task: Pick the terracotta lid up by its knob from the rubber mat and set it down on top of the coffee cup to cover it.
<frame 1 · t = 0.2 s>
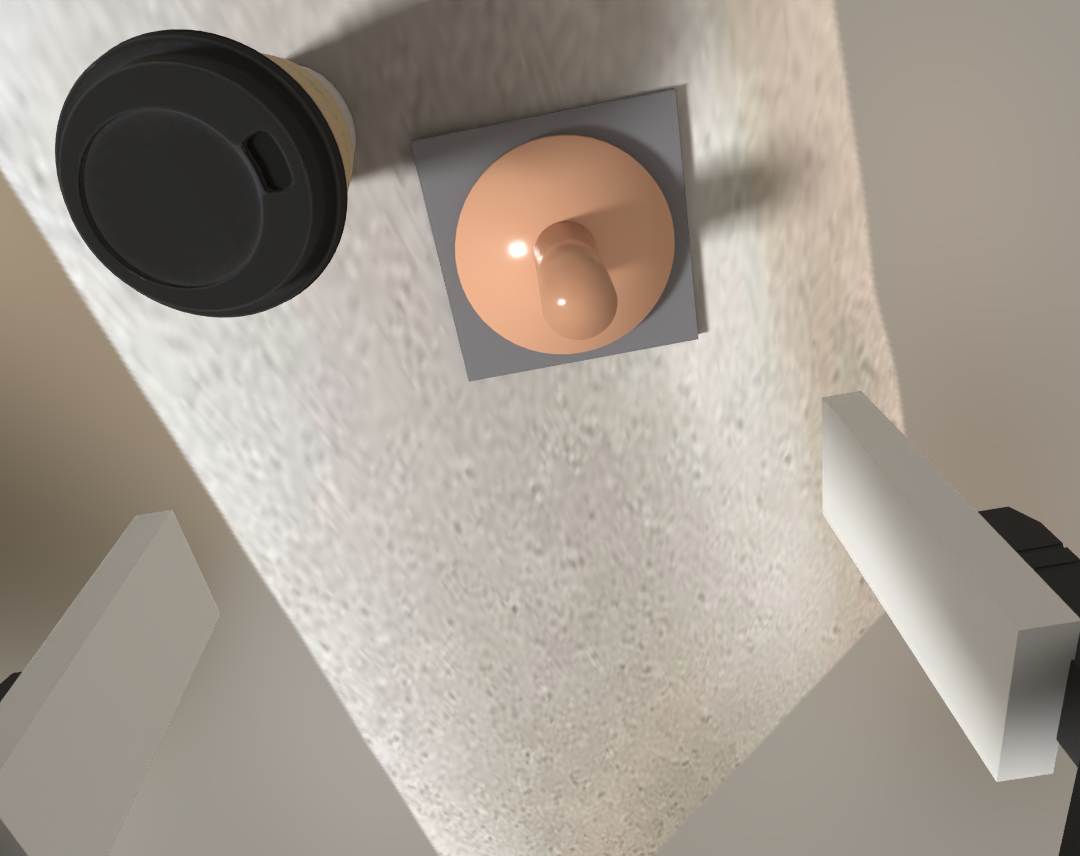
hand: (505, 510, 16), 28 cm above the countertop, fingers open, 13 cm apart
mat: (563, 244, 42), on the countertop
lid: (563, 247, 41), point 1 cm above the countertop, touching mat
coffee cup: (294, 130, 39), on the countertop
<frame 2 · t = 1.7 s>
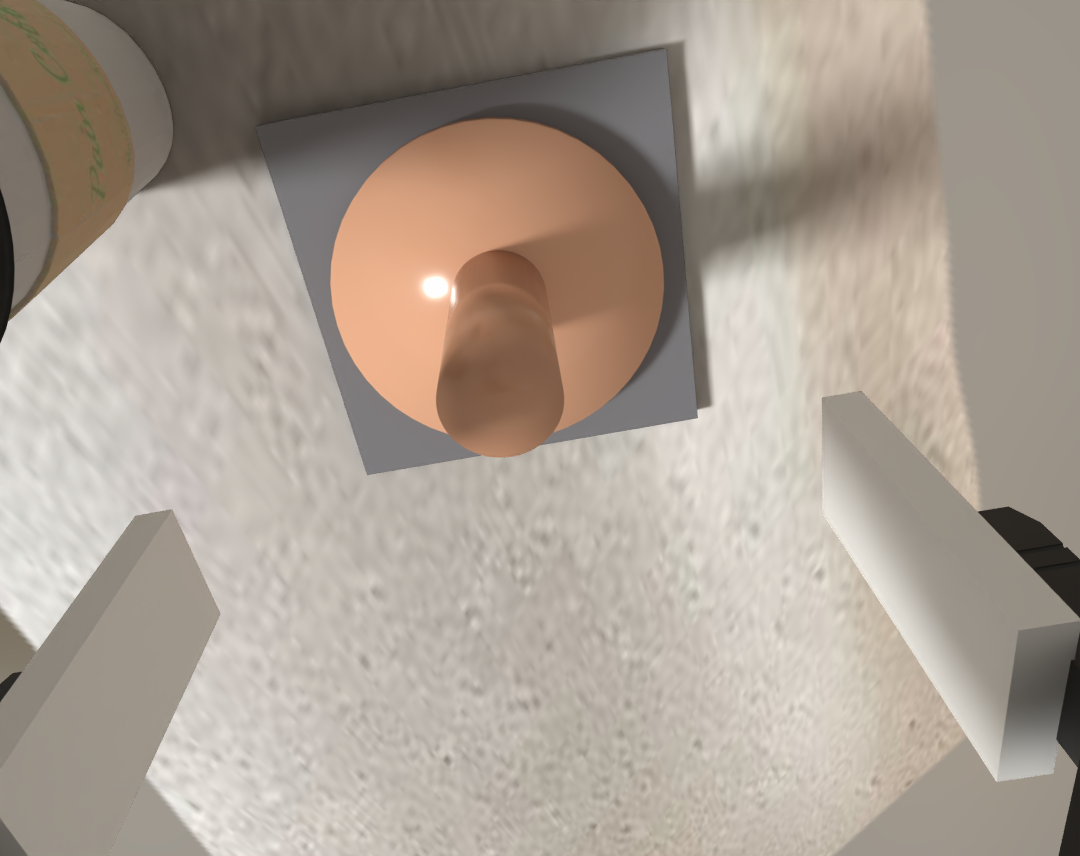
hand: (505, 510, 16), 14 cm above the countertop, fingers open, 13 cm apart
mat: (498, 282, 28), on the countertop
lid: (498, 287, 28), point 1 cm above the countertop, touching mat
coffee cup: (76, 106, 25), on the countertop
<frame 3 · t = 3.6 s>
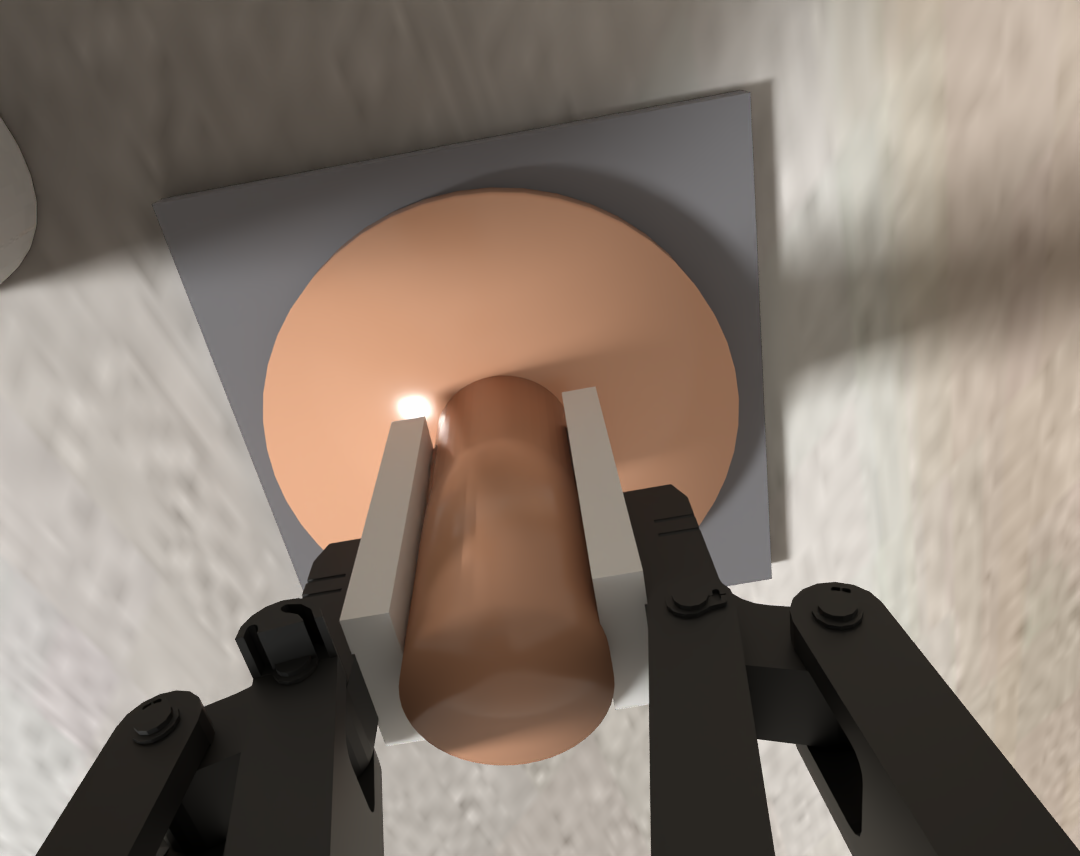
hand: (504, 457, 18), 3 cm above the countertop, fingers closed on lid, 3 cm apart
mat: (504, 406, 20), on the countertop
lid: (504, 418, 20), point 1 cm above the countertop, touching gripper
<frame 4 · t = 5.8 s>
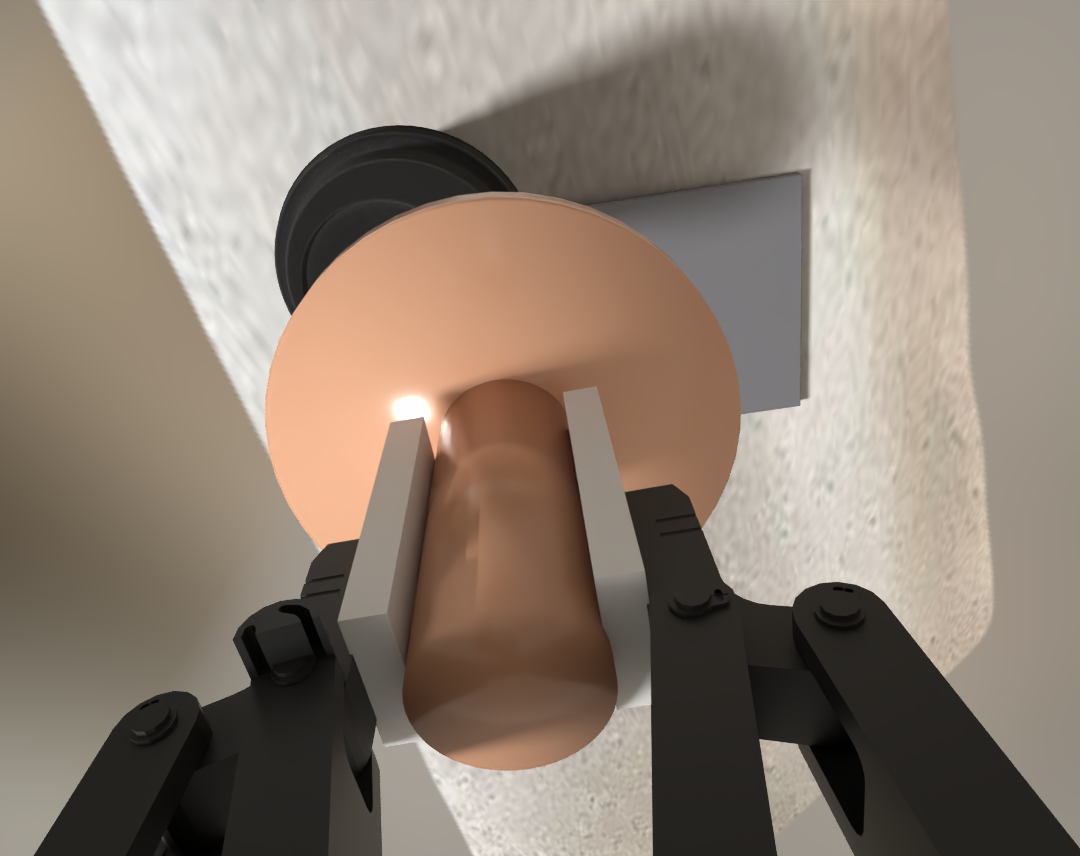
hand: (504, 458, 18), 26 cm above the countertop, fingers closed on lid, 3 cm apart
mat: (679, 312, 44), on the countertop
lid: (506, 421, 20), point 24 cm above the countertop, touching gripper
coffee cup: (435, 196, 41), on the countertop
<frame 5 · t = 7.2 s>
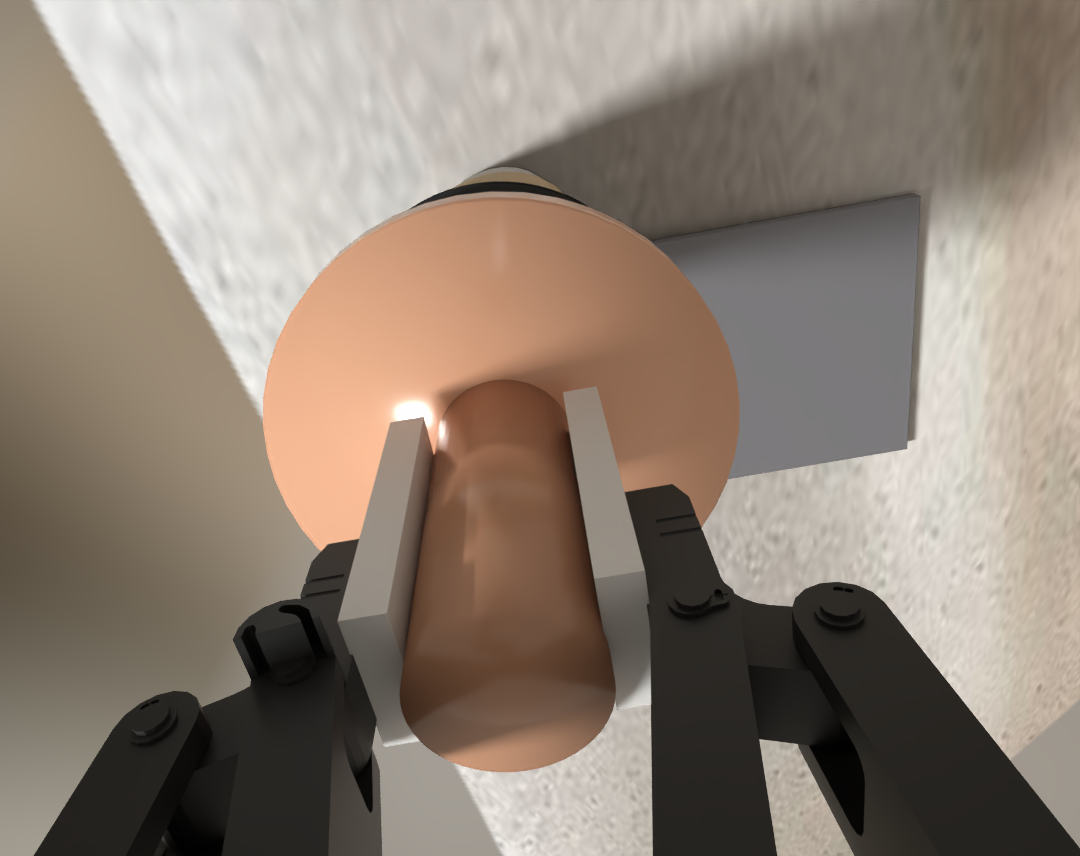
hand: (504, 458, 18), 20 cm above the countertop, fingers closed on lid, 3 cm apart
mat: (774, 351, 39), on the countertop
lid: (504, 422, 20), point 18 cm above the countertop, touching gripper
coffee cup: (501, 233, 36), on the countertop
when the fingers open (19 cm above the countertop, at t = 8.1 s): lid drops 2 cm, resting on coffee cup.
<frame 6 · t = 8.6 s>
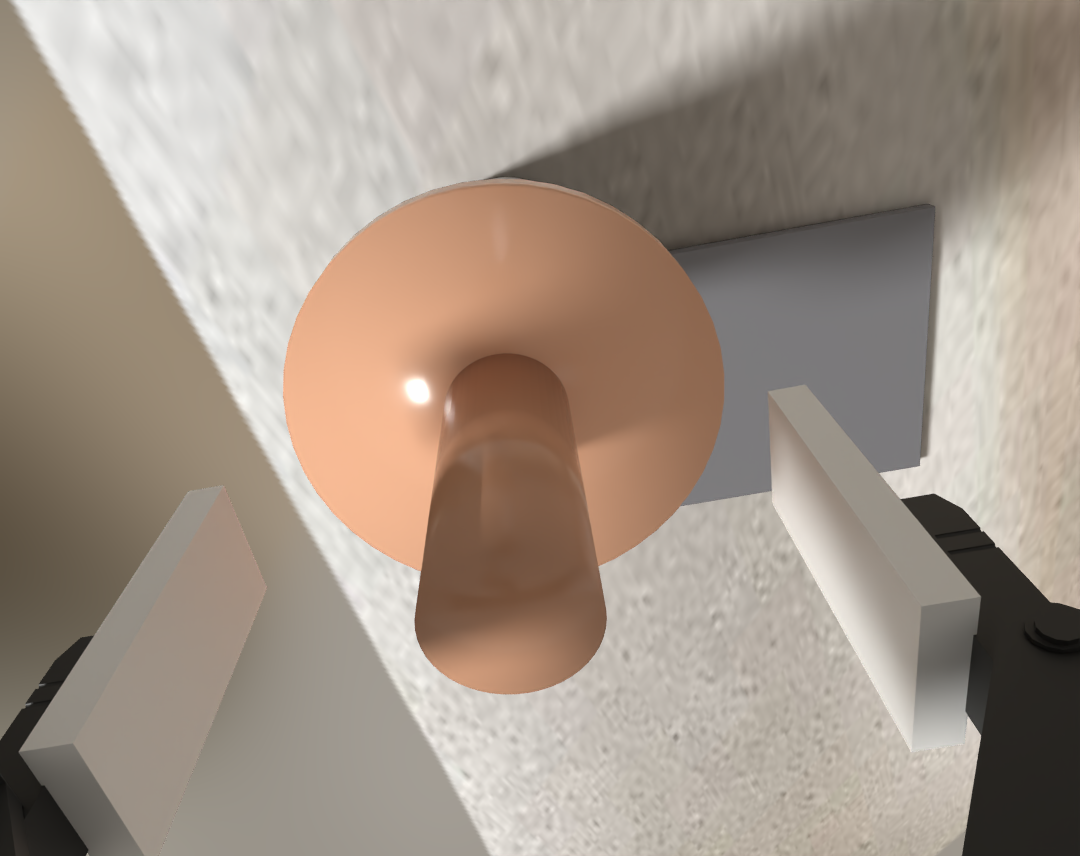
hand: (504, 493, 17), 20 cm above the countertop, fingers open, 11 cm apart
mat: (783, 366, 38), on the countertop
lid: (506, 394, 21), point 15 cm above the countertop, touching coffee cup
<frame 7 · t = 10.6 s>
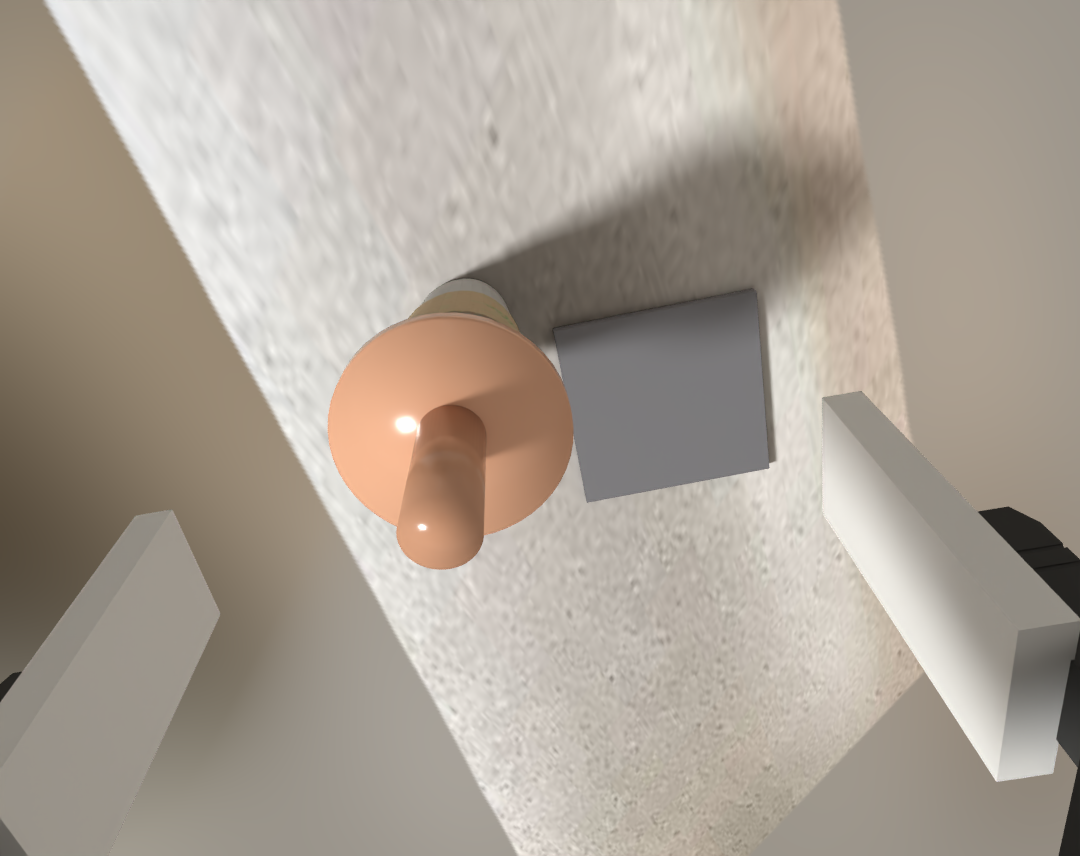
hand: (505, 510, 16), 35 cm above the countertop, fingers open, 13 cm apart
mat: (664, 399, 54), on the countertop
lid: (452, 426, 37), point 15 cm above the countertop, touching coffee cup
coffee cup: (464, 322, 51), on the countertop, touching lid
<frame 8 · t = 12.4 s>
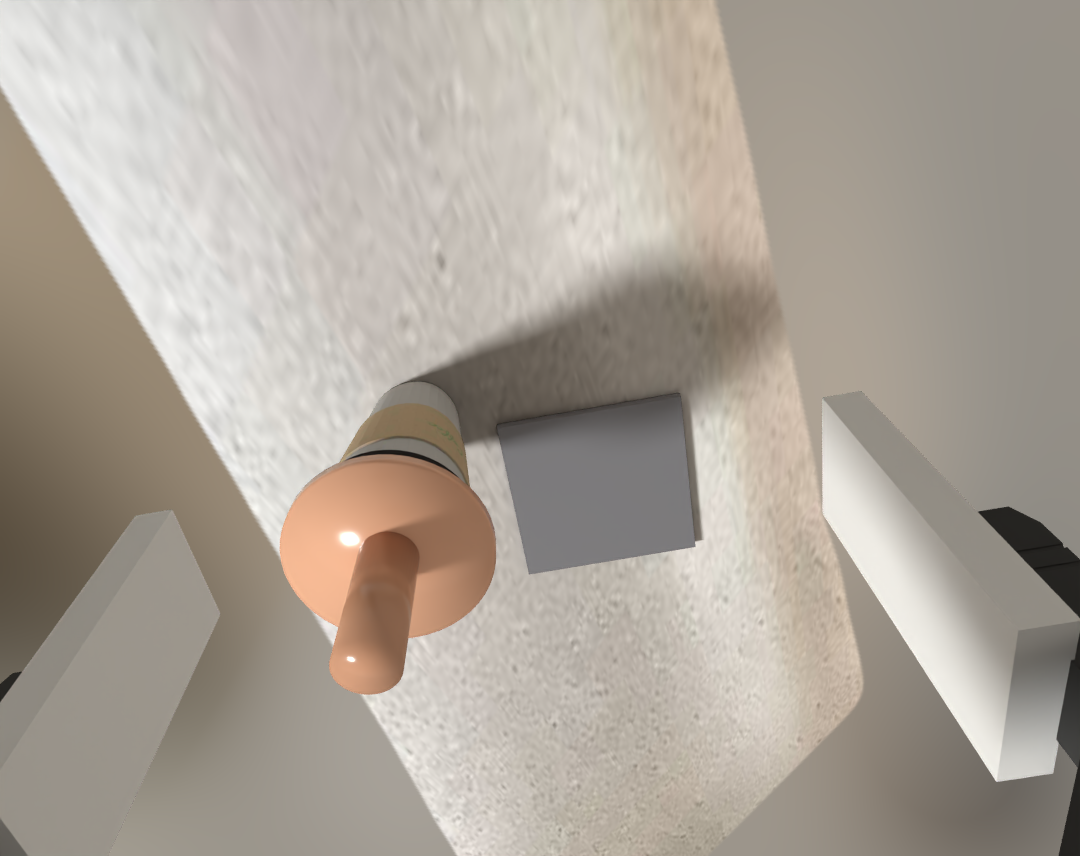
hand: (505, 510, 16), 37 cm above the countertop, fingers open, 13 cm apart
mat: (599, 486, 59), on the countertop
lid: (391, 545, 43), point 15 cm above the countertop, touching coffee cup
coffee cup: (416, 417, 56), on the countertop, touching lid
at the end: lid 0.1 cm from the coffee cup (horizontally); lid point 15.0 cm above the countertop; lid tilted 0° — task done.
